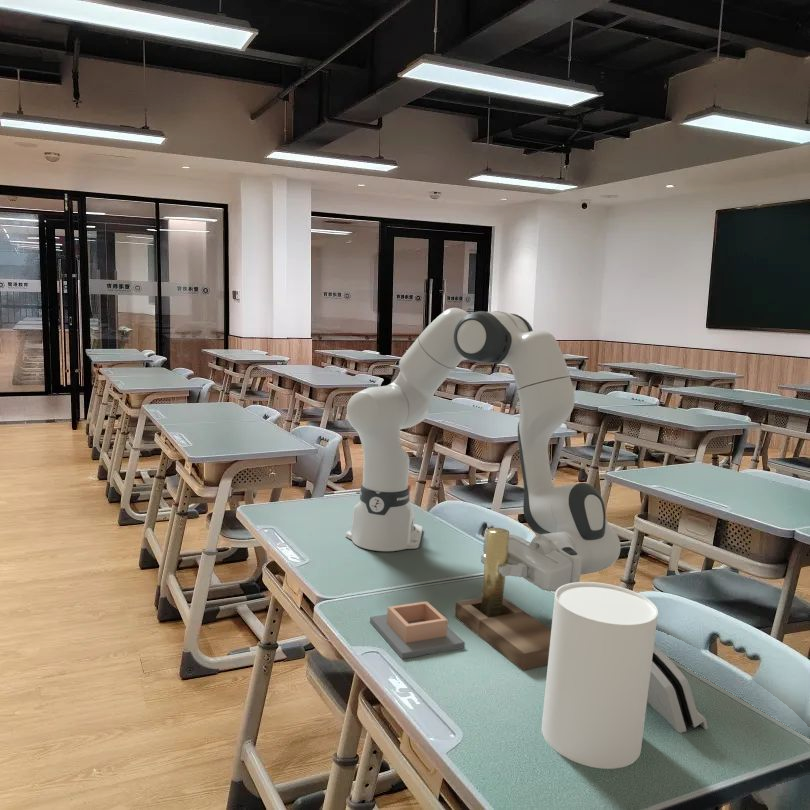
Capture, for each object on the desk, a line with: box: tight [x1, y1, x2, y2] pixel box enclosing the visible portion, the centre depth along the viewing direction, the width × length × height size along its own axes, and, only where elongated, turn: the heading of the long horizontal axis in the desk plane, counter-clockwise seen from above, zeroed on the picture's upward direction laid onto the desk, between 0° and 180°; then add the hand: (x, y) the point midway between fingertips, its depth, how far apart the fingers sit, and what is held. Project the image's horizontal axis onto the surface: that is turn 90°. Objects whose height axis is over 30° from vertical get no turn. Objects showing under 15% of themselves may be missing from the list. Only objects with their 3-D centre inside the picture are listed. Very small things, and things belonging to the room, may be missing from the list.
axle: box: [480, 527, 510, 618], centre depth 128 cm, size 4×4×16 cm
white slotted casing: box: [647, 644, 709, 734], centre depth 106 cm, size 17×5×10 cm, turn 14°
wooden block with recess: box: [454, 596, 552, 671], centre depth 124 cm, size 21×10×3 cm, turn 28°
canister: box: [541, 581, 659, 770], centre depth 95 cm, size 14×14×20 cm
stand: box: [369, 601, 466, 660], centre depth 123 cm, size 14×12×4 cm
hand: (491, 565), depth 127 cm, fingers closed on axle, 4 cm apart
